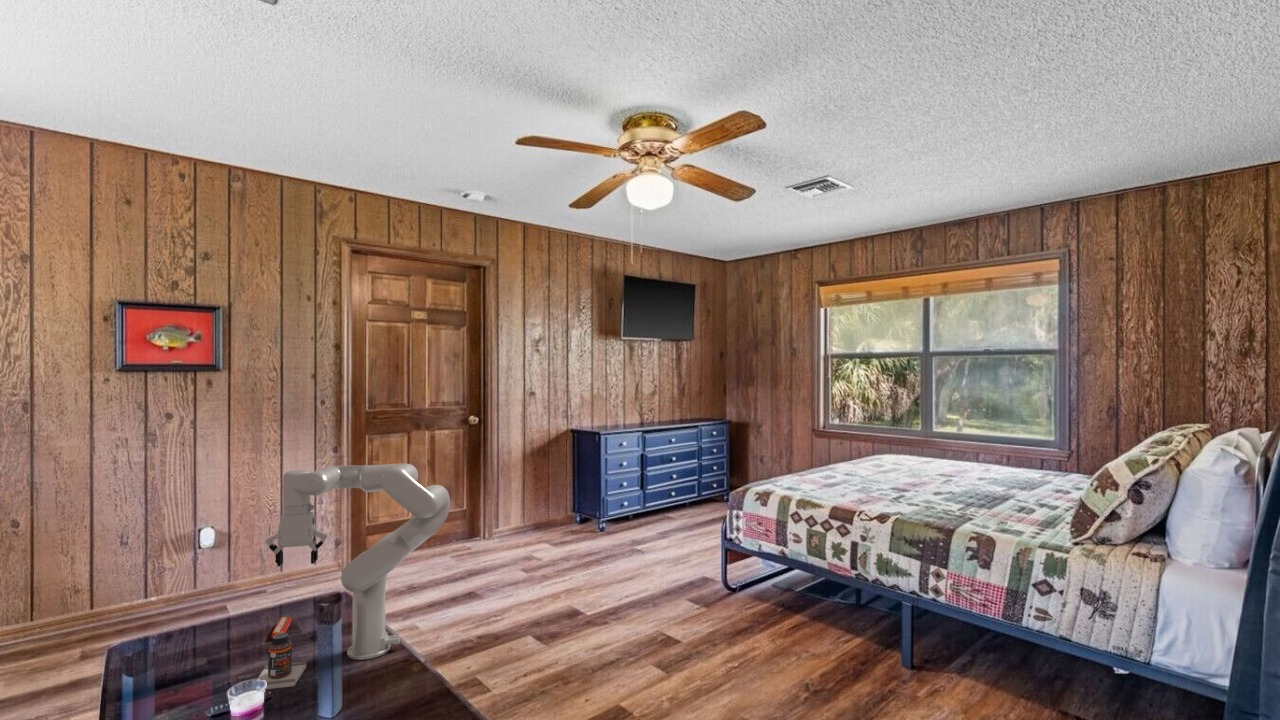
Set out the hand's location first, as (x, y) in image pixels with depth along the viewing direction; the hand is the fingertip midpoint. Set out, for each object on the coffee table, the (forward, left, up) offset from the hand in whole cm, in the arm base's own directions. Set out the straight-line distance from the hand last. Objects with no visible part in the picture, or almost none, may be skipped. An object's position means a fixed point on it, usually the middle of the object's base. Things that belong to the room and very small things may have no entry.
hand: (296, 563), depth 192 cm
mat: (0, +16, -28) cm, 33 cm away
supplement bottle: (0, +16, -27) cm, 32 cm away
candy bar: (+10, -19, -29) cm, 36 cm away
